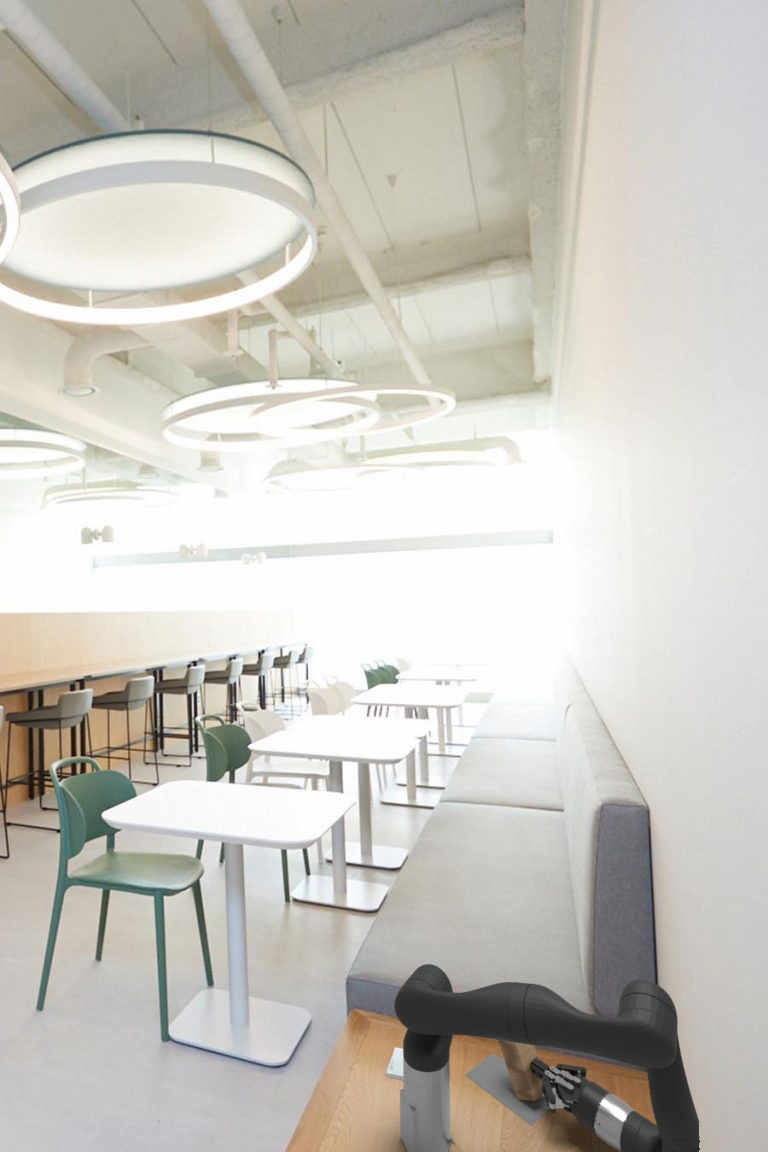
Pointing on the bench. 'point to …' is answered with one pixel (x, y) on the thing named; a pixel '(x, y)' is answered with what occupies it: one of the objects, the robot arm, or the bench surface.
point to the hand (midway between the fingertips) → (532, 1064)
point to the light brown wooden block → (521, 1069)
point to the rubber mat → (506, 1089)
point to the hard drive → (396, 1065)
